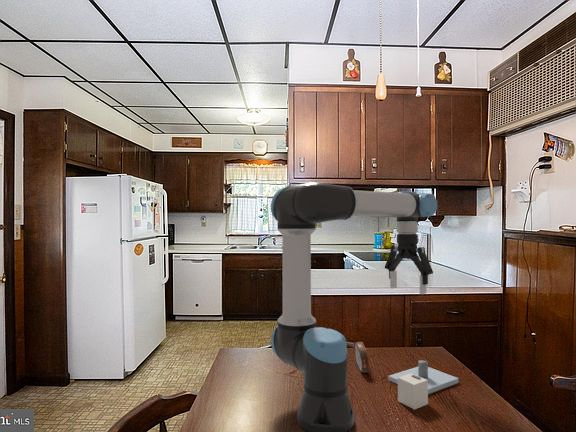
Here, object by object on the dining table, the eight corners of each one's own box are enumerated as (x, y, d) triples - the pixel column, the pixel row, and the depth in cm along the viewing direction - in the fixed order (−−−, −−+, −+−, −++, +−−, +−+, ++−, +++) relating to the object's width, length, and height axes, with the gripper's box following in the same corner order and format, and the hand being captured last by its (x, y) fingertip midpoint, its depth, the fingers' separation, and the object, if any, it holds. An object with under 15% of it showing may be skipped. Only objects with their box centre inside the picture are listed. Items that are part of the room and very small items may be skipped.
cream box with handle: (414, 409, 107) (414, 383, 108) (397, 401, 112) (397, 376, 113) (427, 404, 111) (427, 379, 111) (411, 396, 116) (411, 372, 116)
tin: (369, 376, 131) (369, 352, 131) (360, 376, 131) (360, 351, 131) (362, 360, 146) (362, 338, 146) (354, 360, 146) (354, 338, 146)
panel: (423, 396, 116) (423, 374, 116) (388, 380, 127) (388, 360, 127) (458, 382, 125) (458, 363, 125) (423, 369, 137) (422, 351, 137)
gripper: (443, 234, 132) (443, 295, 131) (388, 232, 153) (389, 285, 152) (429, 234, 128) (429, 297, 127) (375, 232, 149) (375, 286, 148)
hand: (407, 290), depth 140 cm, fingers open, 13 cm apart
